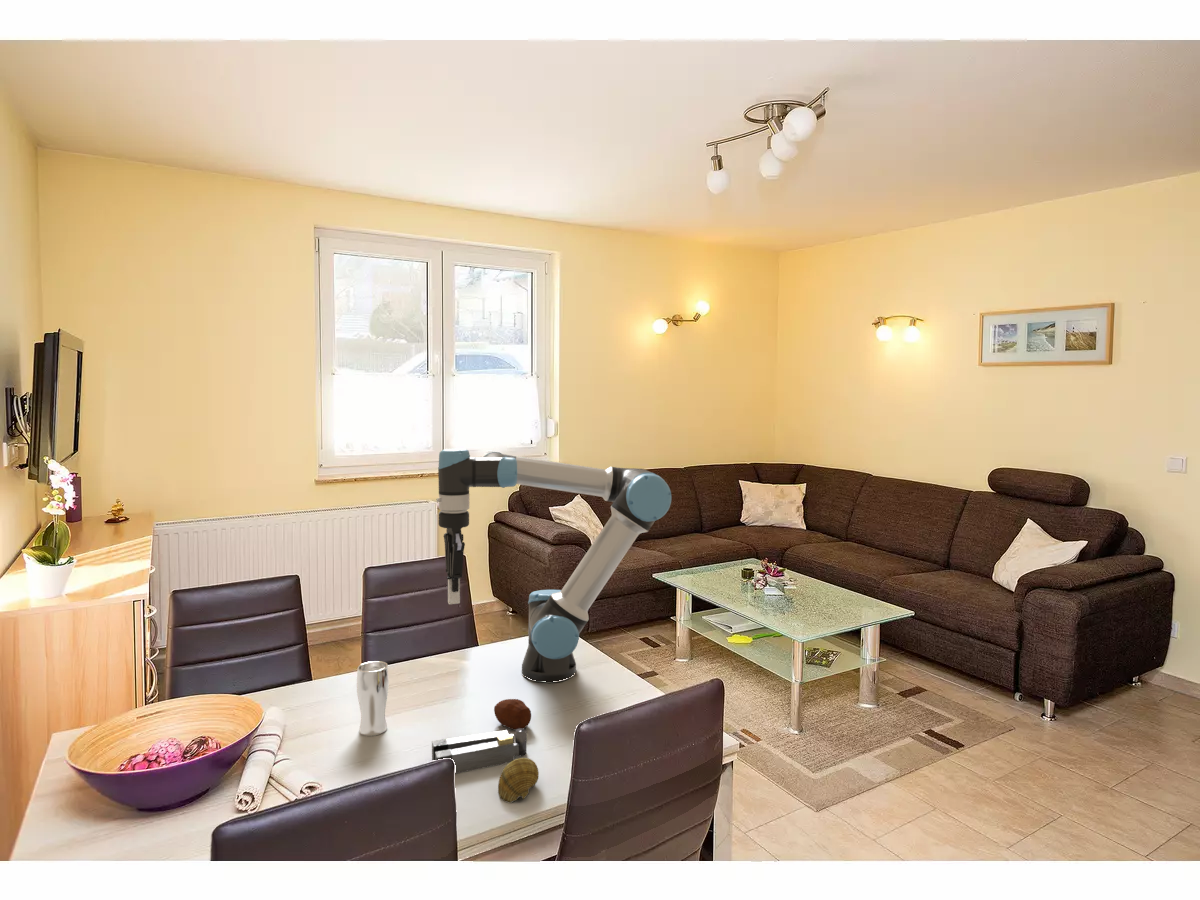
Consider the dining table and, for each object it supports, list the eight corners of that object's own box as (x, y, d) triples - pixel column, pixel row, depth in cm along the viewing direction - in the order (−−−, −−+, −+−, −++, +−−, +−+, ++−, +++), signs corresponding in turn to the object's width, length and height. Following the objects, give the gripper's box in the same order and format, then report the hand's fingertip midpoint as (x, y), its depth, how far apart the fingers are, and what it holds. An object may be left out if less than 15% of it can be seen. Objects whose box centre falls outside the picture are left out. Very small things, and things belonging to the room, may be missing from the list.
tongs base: (524, 749, 156) (524, 727, 156) (530, 758, 152) (530, 735, 152) (433, 767, 148) (433, 744, 148) (437, 777, 144) (437, 753, 144)
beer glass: (377, 739, 160) (376, 673, 158) (350, 734, 162) (350, 669, 160) (395, 725, 166) (394, 662, 165) (369, 721, 168) (368, 659, 167)
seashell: (520, 821, 137) (548, 792, 136) (492, 804, 135) (519, 774, 134) (517, 785, 146) (542, 757, 145) (490, 769, 144) (516, 741, 143)
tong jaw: (512, 746, 157) (512, 729, 156) (515, 751, 154) (515, 734, 154) (431, 759, 151) (431, 741, 150) (433, 765, 148) (433, 746, 148)
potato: (512, 738, 161) (512, 710, 161) (487, 724, 168) (488, 697, 167) (536, 728, 166) (536, 701, 166) (511, 715, 173) (511, 689, 172)
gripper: (433, 507, 183) (433, 597, 185) (444, 515, 171) (444, 612, 173) (462, 506, 186) (462, 594, 188) (475, 514, 174) (474, 608, 176)
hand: (453, 603), depth 181 cm, fingers closed
